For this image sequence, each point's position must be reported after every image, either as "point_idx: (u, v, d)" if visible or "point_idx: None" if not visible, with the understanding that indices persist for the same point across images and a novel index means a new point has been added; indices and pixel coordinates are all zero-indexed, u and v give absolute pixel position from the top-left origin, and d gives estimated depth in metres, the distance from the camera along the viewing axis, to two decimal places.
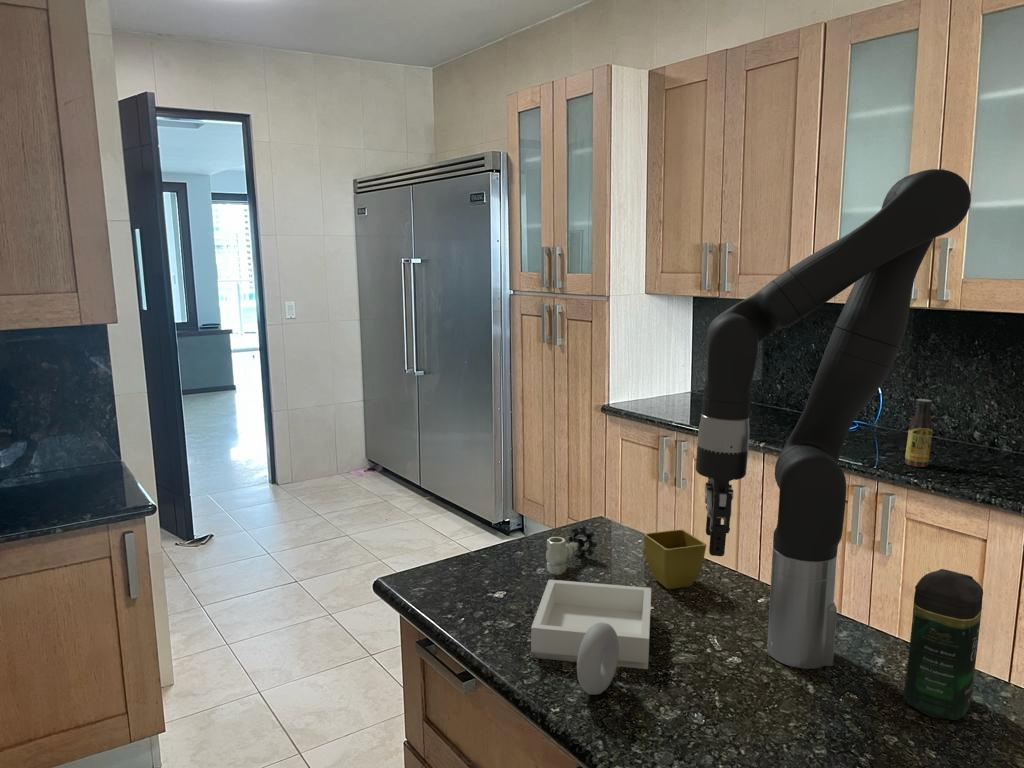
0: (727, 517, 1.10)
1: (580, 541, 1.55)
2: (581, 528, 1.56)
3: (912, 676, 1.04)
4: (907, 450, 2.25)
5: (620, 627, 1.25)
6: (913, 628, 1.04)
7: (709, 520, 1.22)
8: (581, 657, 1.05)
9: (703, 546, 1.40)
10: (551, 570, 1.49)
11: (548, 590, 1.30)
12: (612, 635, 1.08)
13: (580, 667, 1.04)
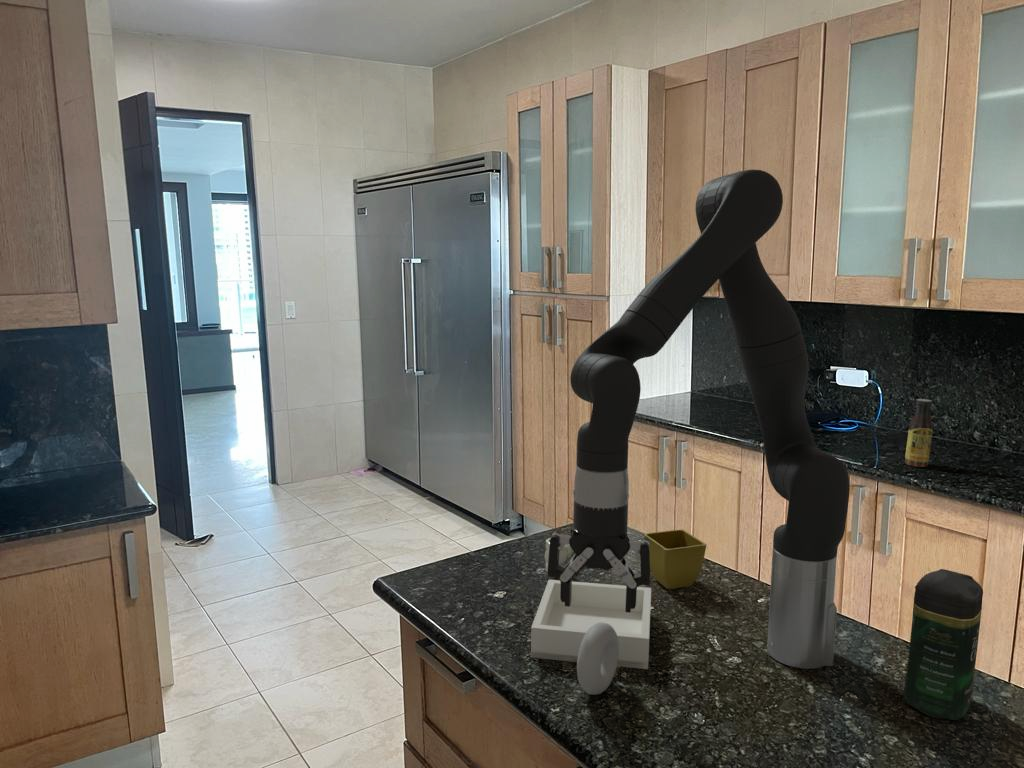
0: None
1: None
2: None
3: (911, 676, 1.04)
4: (907, 450, 2.25)
5: (620, 627, 1.25)
6: (913, 628, 1.04)
7: (570, 589, 1.07)
8: (581, 657, 1.05)
9: (703, 546, 1.40)
10: None
11: (548, 590, 1.30)
12: (612, 635, 1.08)
13: (580, 667, 1.04)
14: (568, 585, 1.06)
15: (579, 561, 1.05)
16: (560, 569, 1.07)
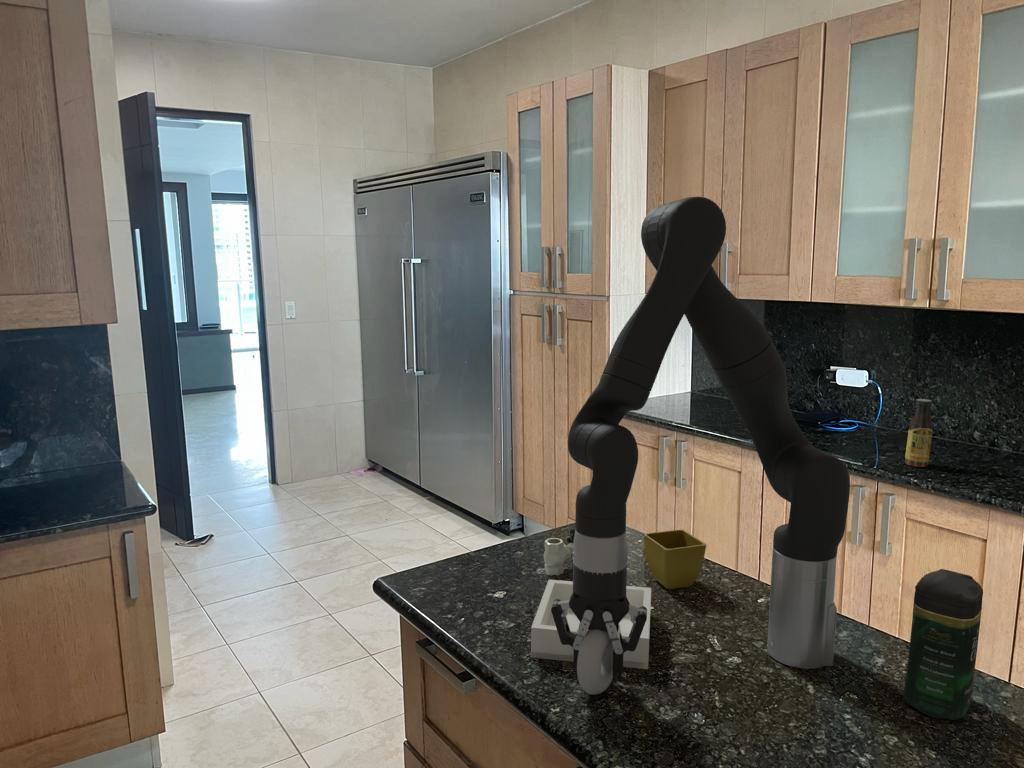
0: None
1: None
2: None
3: (911, 676, 1.04)
4: (907, 450, 2.25)
5: (620, 627, 1.25)
6: (913, 628, 1.04)
7: None
8: (581, 657, 1.05)
9: (703, 546, 1.40)
10: (549, 571, 1.48)
11: (548, 590, 1.30)
12: None
13: (580, 667, 1.04)
14: None
15: (584, 626, 1.06)
16: (573, 637, 1.08)
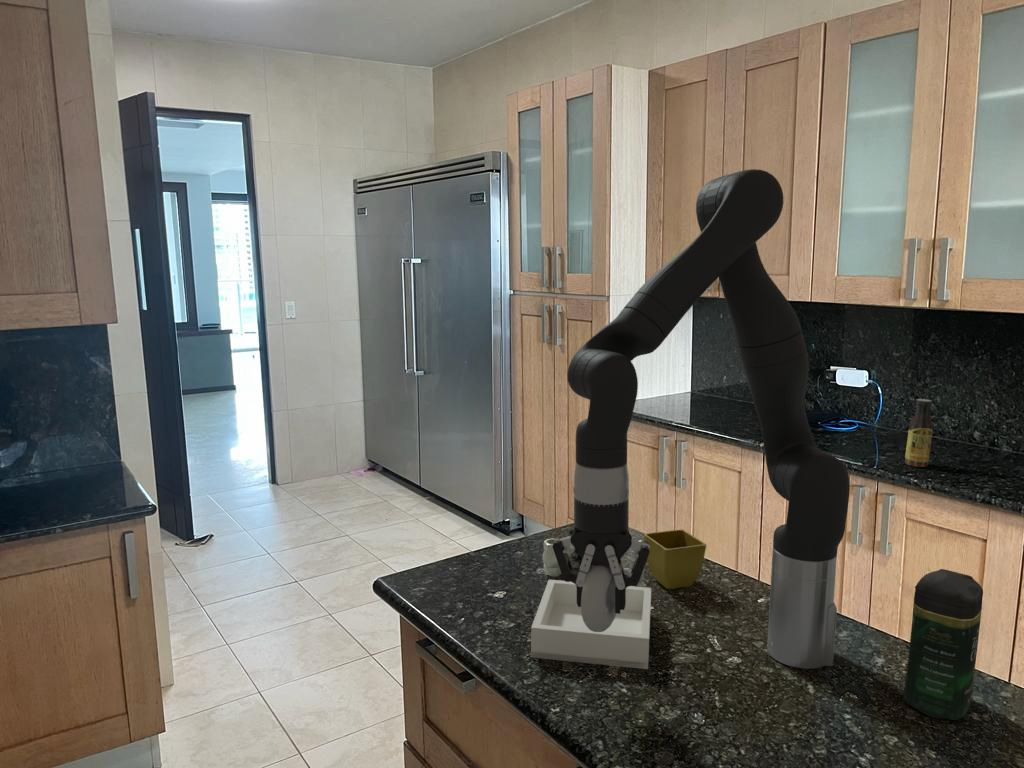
0: None
1: None
2: None
3: (911, 676, 1.04)
4: (907, 450, 2.25)
5: (620, 627, 1.25)
6: (913, 628, 1.04)
7: None
8: (586, 593, 1.03)
9: (703, 546, 1.40)
10: (548, 572, 1.48)
11: (548, 590, 1.30)
12: None
13: (585, 604, 1.03)
14: None
15: (586, 561, 1.04)
16: (576, 574, 1.06)
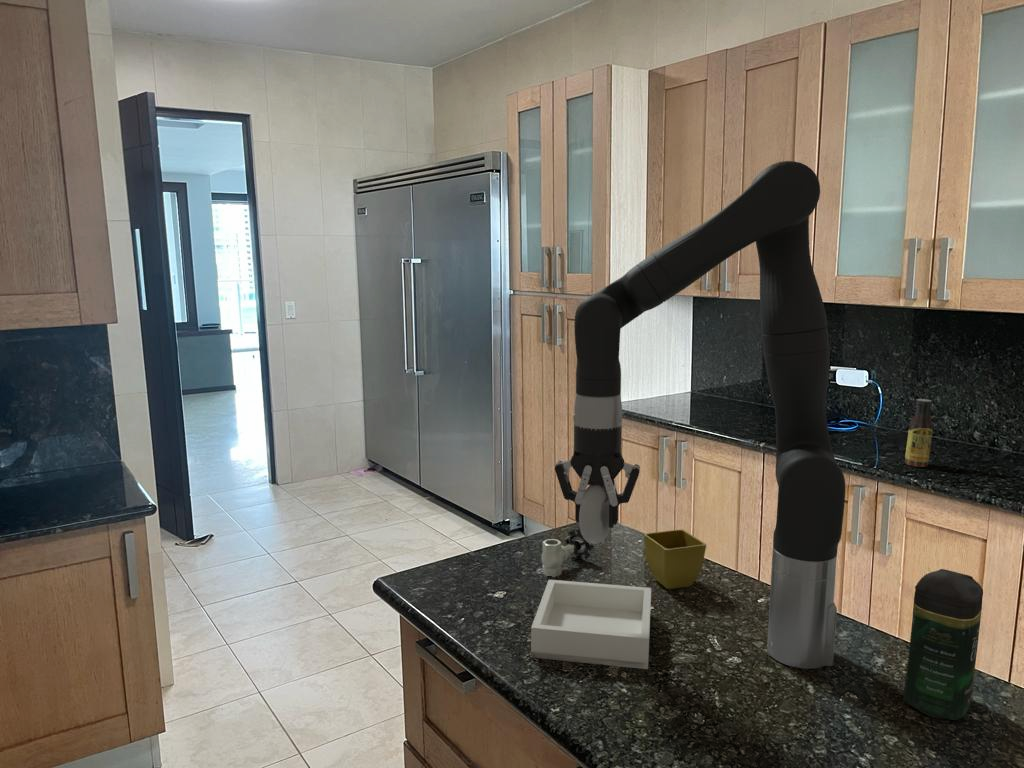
0: None
1: (576, 543, 1.54)
2: (578, 530, 1.55)
3: (911, 676, 1.04)
4: (907, 450, 2.25)
5: (620, 627, 1.25)
6: (913, 628, 1.04)
7: None
8: (583, 507, 1.18)
9: (703, 546, 1.40)
10: (546, 572, 1.48)
11: (548, 590, 1.30)
12: None
13: (582, 516, 1.17)
14: None
15: (584, 480, 1.19)
16: (575, 493, 1.21)
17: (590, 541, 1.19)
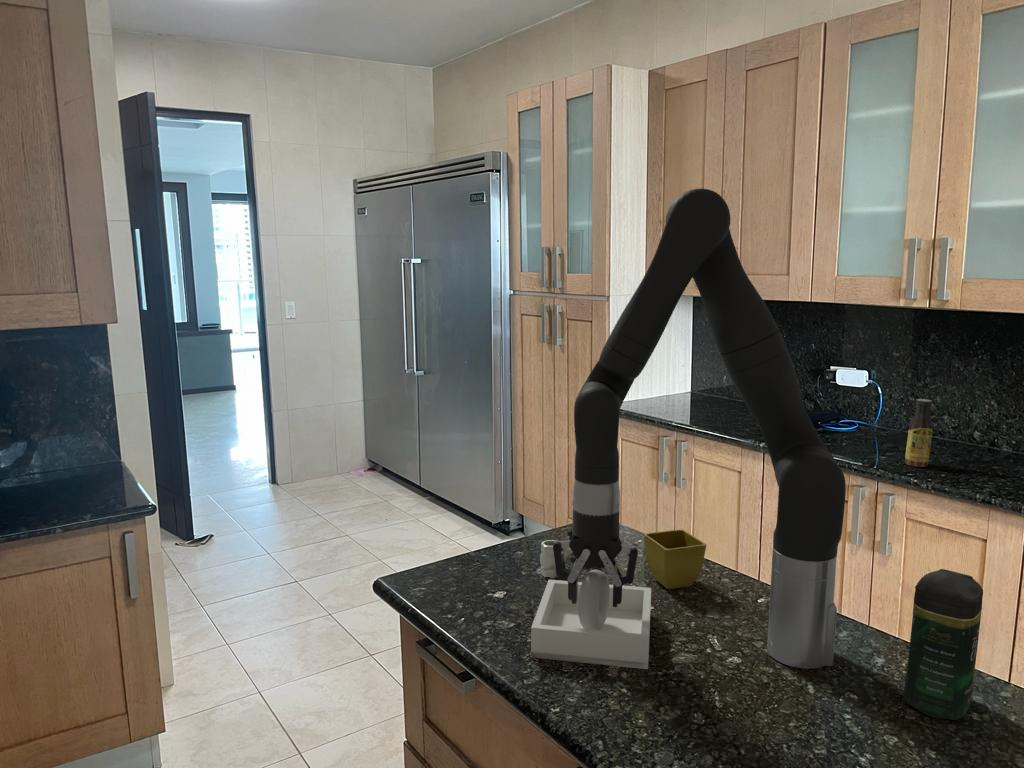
0: None
1: None
2: None
3: (911, 676, 1.04)
4: (907, 450, 2.25)
5: (620, 627, 1.25)
6: (913, 628, 1.04)
7: (576, 589, 1.24)
8: (582, 598, 1.20)
9: (703, 546, 1.40)
10: (545, 574, 1.47)
11: (548, 590, 1.30)
12: (606, 579, 1.24)
13: (582, 607, 1.20)
14: (574, 585, 1.23)
15: (580, 562, 1.22)
16: (567, 571, 1.24)
17: None
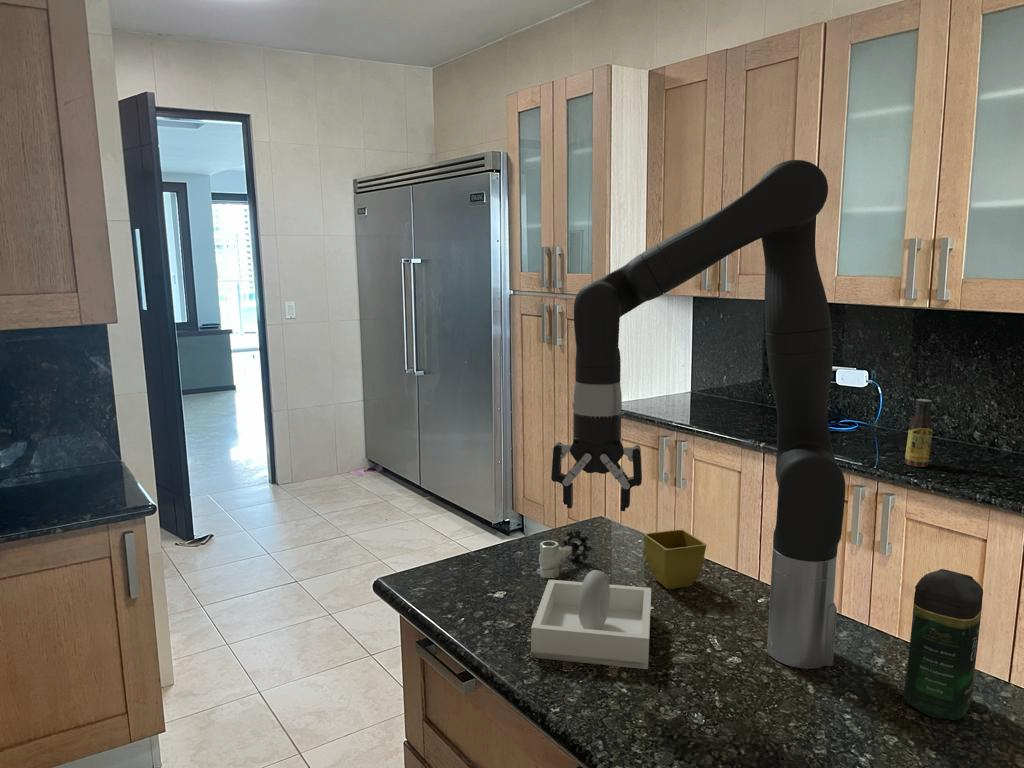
0: (641, 466, 1.20)
1: (574, 545, 1.53)
2: (575, 532, 1.54)
3: (911, 676, 1.04)
4: (907, 450, 2.25)
5: (620, 627, 1.25)
6: (913, 628, 1.04)
7: (571, 493, 1.21)
8: (583, 599, 1.20)
9: (703, 546, 1.40)
10: (544, 574, 1.47)
11: (548, 590, 1.30)
12: (606, 580, 1.24)
13: (582, 608, 1.20)
14: (570, 489, 1.21)
15: (579, 466, 1.19)
16: (562, 475, 1.21)
17: None
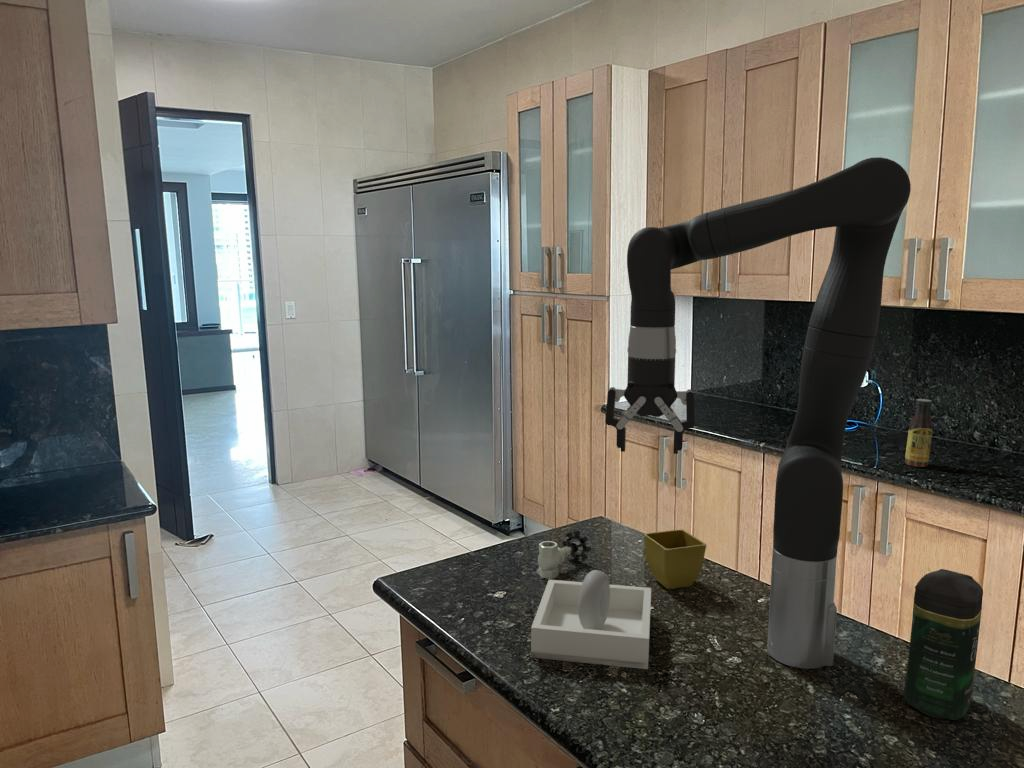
0: None
1: (573, 545, 1.53)
2: (575, 532, 1.54)
3: (911, 676, 1.04)
4: (907, 450, 2.25)
5: (620, 627, 1.25)
6: (913, 628, 1.04)
7: (625, 436, 1.24)
8: (583, 599, 1.20)
9: (703, 546, 1.40)
10: (543, 575, 1.47)
11: (548, 590, 1.30)
12: (606, 580, 1.24)
13: (582, 608, 1.20)
14: (623, 432, 1.23)
15: (633, 409, 1.22)
16: (616, 419, 1.24)
17: None
